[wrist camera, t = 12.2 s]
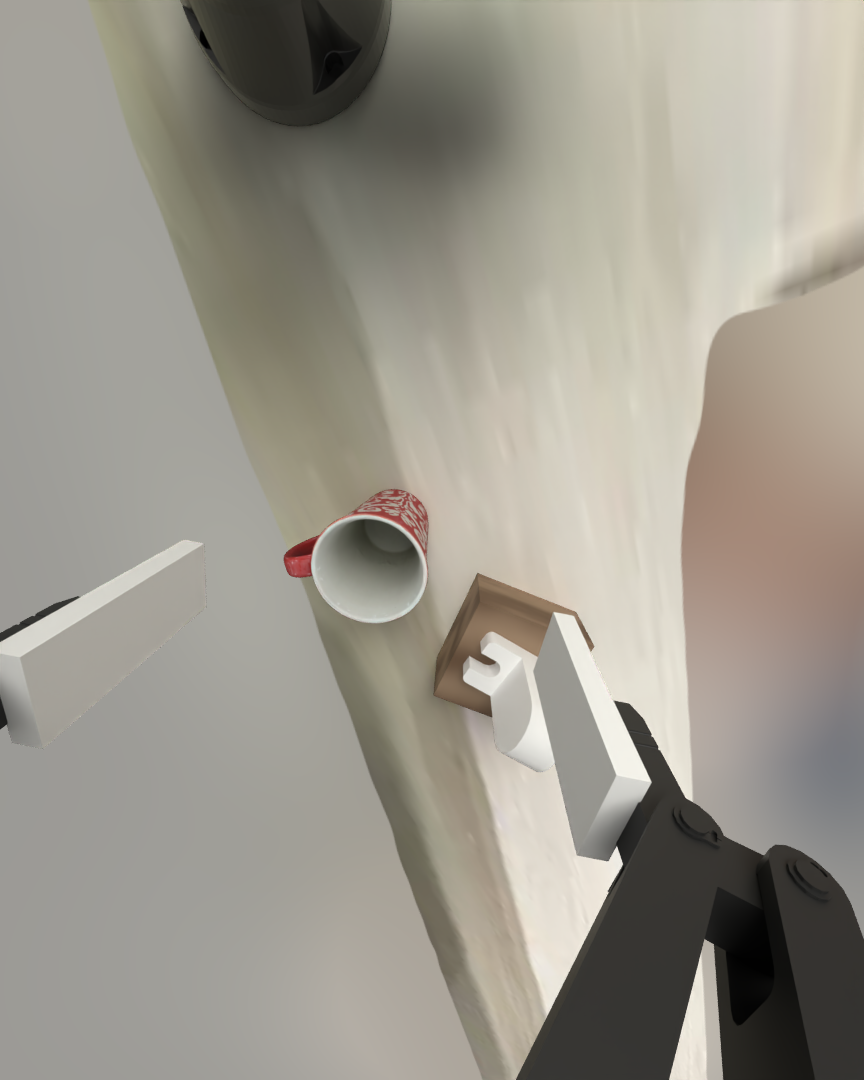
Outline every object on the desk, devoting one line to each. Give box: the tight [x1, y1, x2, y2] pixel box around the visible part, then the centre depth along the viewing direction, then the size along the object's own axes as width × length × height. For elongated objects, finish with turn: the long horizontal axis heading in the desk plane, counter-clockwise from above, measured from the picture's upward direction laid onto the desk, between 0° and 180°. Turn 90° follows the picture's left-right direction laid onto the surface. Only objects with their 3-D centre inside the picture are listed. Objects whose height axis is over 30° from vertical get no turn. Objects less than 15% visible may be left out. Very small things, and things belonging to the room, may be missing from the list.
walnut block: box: [434, 573, 594, 717], centre depth 44 cm, size 12×12×7 cm
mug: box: [284, 489, 428, 623], centre depth 37 cm, size 13×9×14 cm
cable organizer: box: [463, 632, 555, 772], centre depth 36 cm, size 5×10×10 cm, turn 59°
